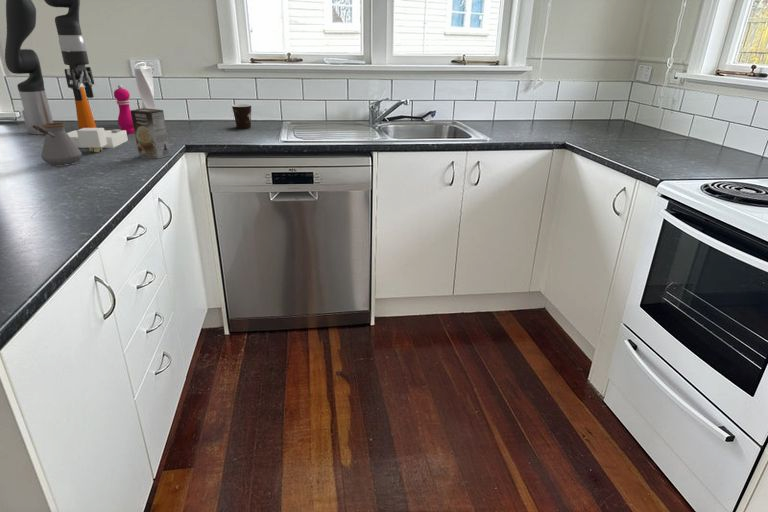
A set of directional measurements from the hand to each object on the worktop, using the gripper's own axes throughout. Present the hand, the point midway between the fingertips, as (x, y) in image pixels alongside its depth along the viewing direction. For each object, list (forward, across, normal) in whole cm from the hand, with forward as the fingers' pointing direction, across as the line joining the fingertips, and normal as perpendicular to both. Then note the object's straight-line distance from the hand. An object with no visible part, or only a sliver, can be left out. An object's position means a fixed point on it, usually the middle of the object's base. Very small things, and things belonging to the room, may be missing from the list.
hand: (84, 99), depth 175 cm
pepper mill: (+18, -37, -2) cm, 41 cm away
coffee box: (+19, +8, +24) cm, 31 cm away
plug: (+18, 0, -2) cm, 18 cm away
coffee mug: (+19, -48, +44) cm, 68 cm away
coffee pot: (+19, +24, -2) cm, 30 cm away
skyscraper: (+19, -56, +1) cm, 59 cm away
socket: (+18, -13, -6) cm, 23 cm away
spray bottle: (+18, -39, -18) cm, 47 cm away
